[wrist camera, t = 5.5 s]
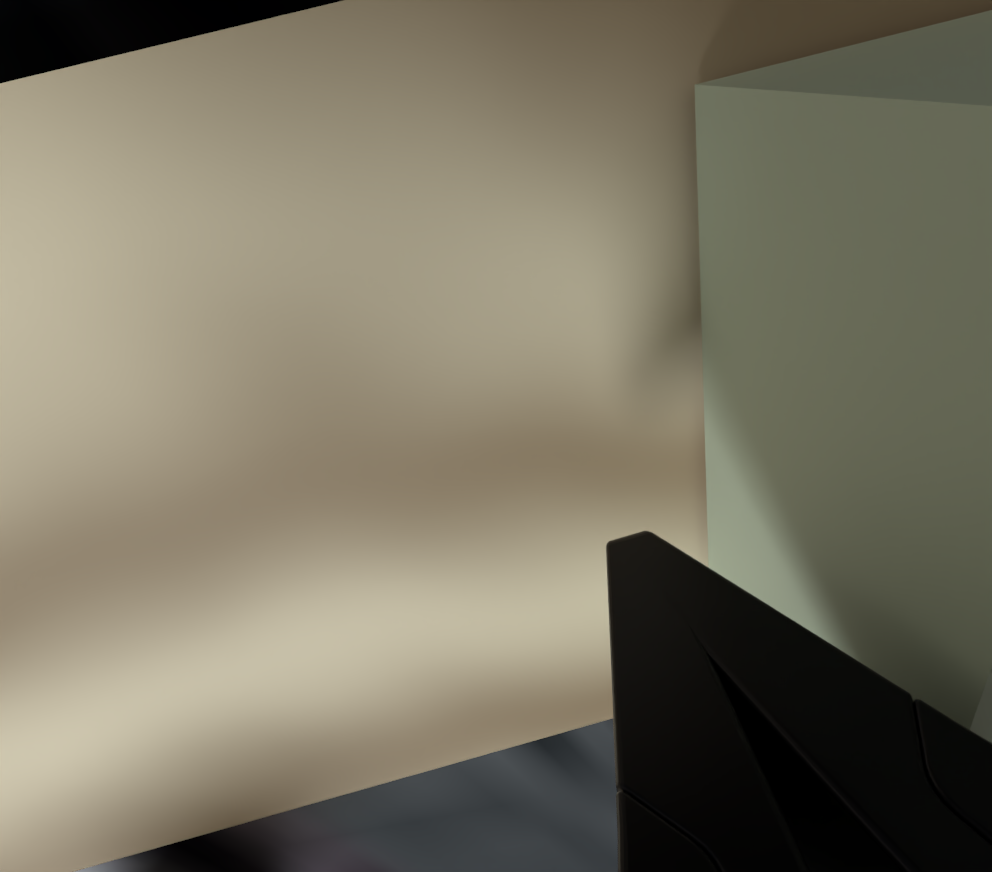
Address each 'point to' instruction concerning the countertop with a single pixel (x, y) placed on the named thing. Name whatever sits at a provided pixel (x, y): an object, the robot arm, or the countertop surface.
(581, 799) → the countertop surface
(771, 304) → the socket block
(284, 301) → the wall board
